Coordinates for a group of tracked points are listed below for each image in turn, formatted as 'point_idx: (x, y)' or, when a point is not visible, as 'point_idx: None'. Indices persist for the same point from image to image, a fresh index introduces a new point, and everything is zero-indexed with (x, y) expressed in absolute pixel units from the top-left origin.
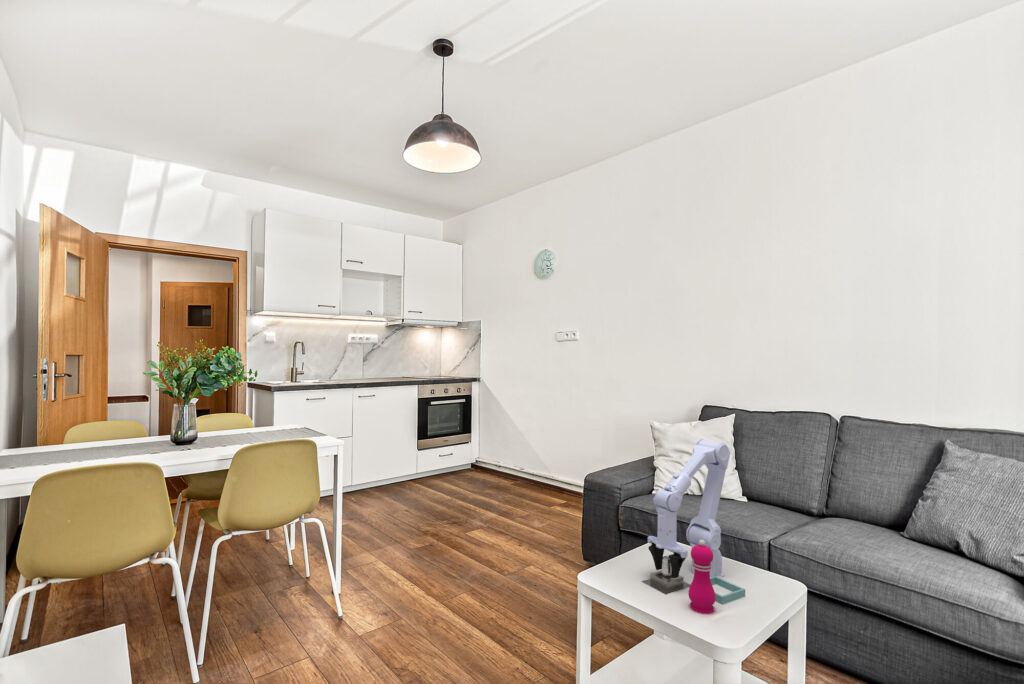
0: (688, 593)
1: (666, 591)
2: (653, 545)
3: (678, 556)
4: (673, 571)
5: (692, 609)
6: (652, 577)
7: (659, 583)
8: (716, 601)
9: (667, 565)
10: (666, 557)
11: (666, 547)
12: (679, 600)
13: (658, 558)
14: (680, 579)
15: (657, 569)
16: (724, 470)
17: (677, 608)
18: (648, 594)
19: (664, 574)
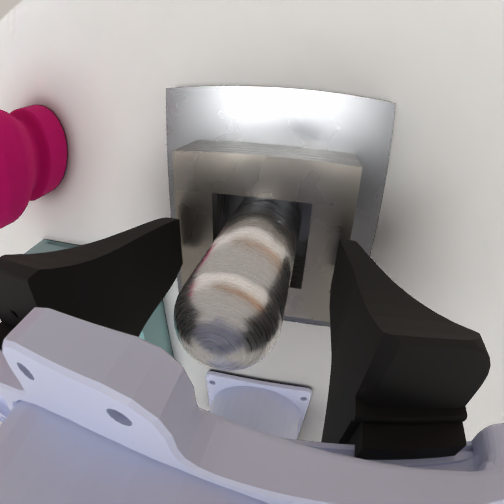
0: (4, 124)
1: (190, 123)
2: (428, 425)
3: (7, 325)
4: (127, 230)
5: (30, 106)
6: (337, 158)
7: (264, 147)
8: (52, 248)
9: (198, 266)
10: (198, 329)
11: (2, 377)
12: (126, 137)
13: (345, 318)
14: (183, 270)
15: (340, 243)
16: None
17: (82, 69)
18: (261, 29)
19: (246, 215)
